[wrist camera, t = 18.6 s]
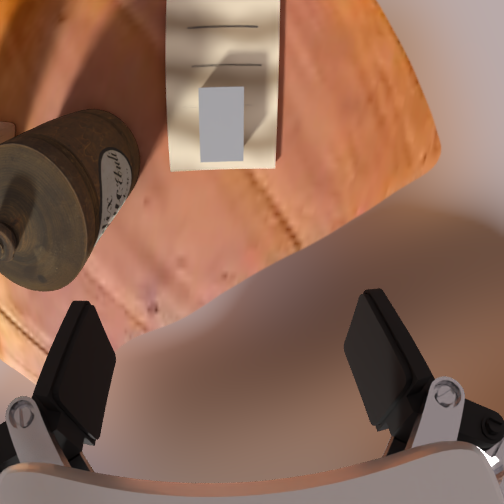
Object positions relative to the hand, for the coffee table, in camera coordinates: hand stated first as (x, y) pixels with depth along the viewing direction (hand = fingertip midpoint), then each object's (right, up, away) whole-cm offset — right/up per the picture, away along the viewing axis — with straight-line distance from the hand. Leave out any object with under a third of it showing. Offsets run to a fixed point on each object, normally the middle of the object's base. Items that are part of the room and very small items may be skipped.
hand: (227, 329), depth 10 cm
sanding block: (-3, +18, +22) cm, 29 cm away
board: (-3, +24, +21) cm, 32 cm away
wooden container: (-21, +15, +25) cm, 36 cm away
